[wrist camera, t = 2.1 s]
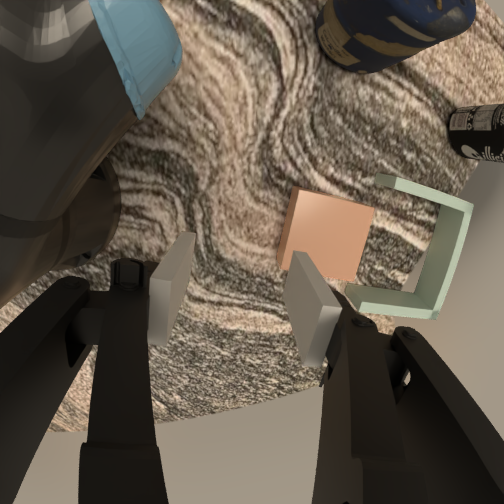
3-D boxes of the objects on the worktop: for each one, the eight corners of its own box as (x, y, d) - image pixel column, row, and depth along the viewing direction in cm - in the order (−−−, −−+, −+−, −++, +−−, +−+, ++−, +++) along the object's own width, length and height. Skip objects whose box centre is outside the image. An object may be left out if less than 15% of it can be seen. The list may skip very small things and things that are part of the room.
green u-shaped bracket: (344, 292, 36) (358, 311, 32) (376, 172, 32) (396, 176, 28) (417, 302, 37) (436, 319, 33) (449, 197, 33) (473, 204, 29)
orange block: (276, 256, 35) (280, 269, 31) (292, 185, 33) (299, 189, 29) (342, 268, 36) (353, 281, 32) (360, 201, 34) (374, 208, 30)
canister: (394, 22, 27) (485, -38, 9) (386, 88, 29) (494, 53, 12) (318, -5, 26) (373, -98, 9) (305, 62, 28) (367, -16, 11)
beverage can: (482, 157, 32) (547, 166, 20) (448, 158, 32) (516, 168, 20) (477, 109, 30) (542, 105, 18) (441, 106, 30) (508, 99, 18)
